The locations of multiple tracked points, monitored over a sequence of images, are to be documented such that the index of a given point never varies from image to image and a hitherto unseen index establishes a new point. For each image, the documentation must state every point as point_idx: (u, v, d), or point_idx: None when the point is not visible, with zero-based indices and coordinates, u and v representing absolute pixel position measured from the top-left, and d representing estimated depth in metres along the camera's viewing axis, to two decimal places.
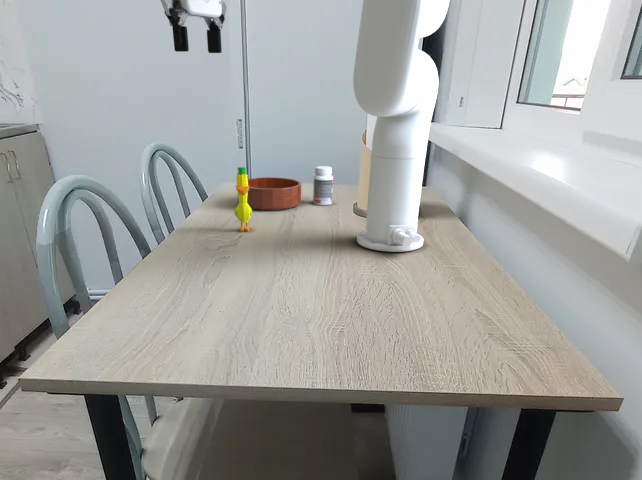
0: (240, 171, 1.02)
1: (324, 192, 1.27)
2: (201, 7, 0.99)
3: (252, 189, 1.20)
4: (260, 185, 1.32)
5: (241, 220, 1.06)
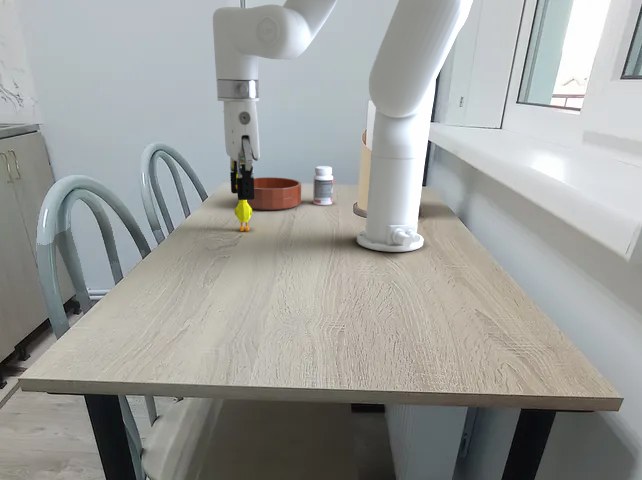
0: None
1: (324, 192, 1.27)
2: None
3: None
4: (260, 185, 1.32)
5: (241, 219, 1.06)
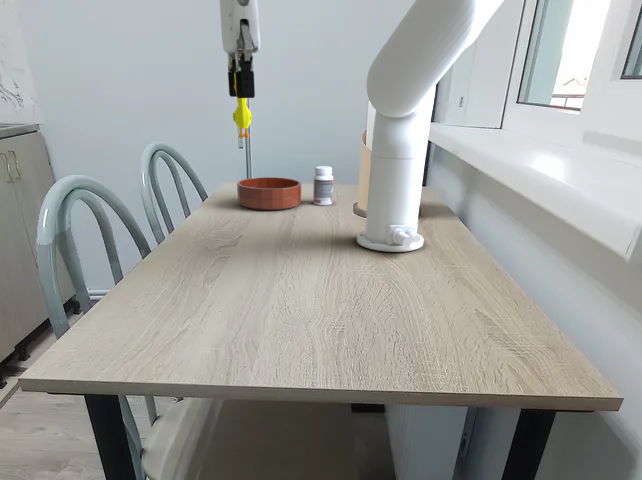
0: None
1: (324, 192, 1.27)
2: None
3: (252, 189, 1.20)
4: (260, 185, 1.32)
5: (240, 125, 0.99)
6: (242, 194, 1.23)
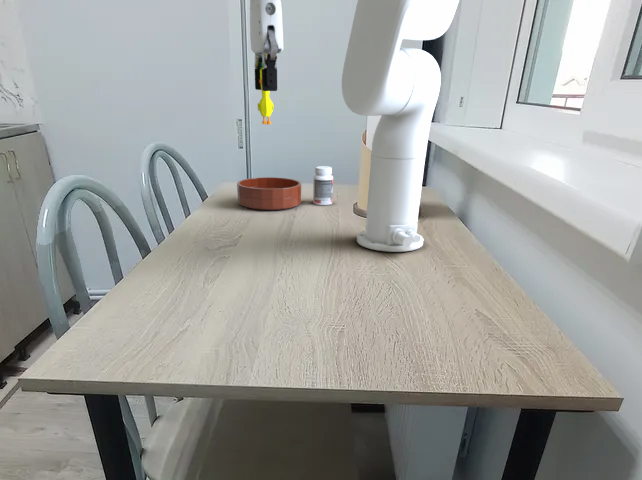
0: None
1: (324, 192, 1.27)
2: None
3: (252, 189, 1.20)
4: (260, 185, 1.32)
5: (264, 113, 1.17)
6: (242, 194, 1.23)
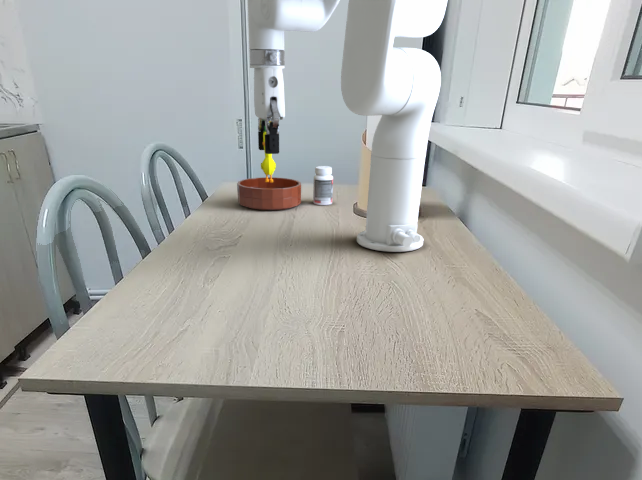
0: None
1: (324, 192, 1.27)
2: None
3: (252, 189, 1.20)
4: (260, 185, 1.32)
5: (266, 172, 1.25)
6: (242, 194, 1.23)
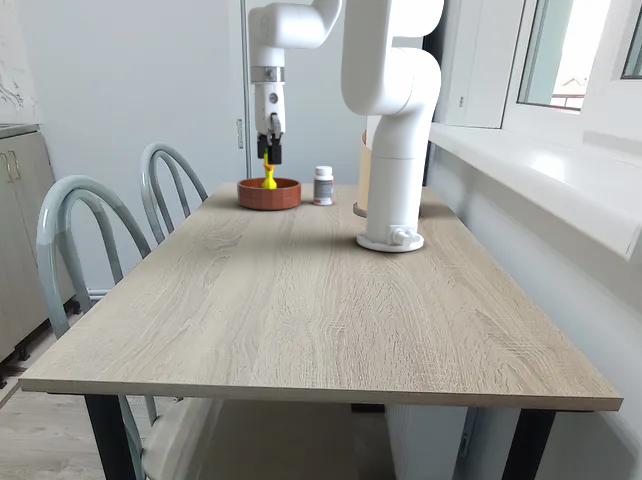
0: None
1: (324, 192, 1.27)
2: None
3: (252, 189, 1.20)
4: (260, 185, 1.32)
5: None
6: (242, 194, 1.23)
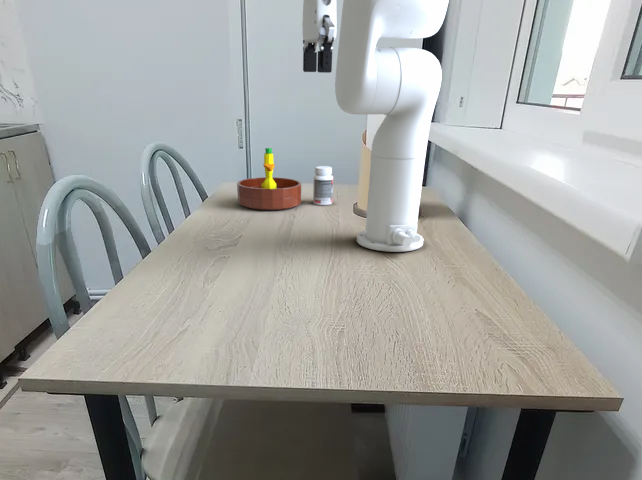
0: (267, 151, 1.23)
1: (324, 192, 1.27)
2: None
3: (252, 189, 1.20)
4: (260, 185, 1.32)
5: None
6: (242, 194, 1.23)
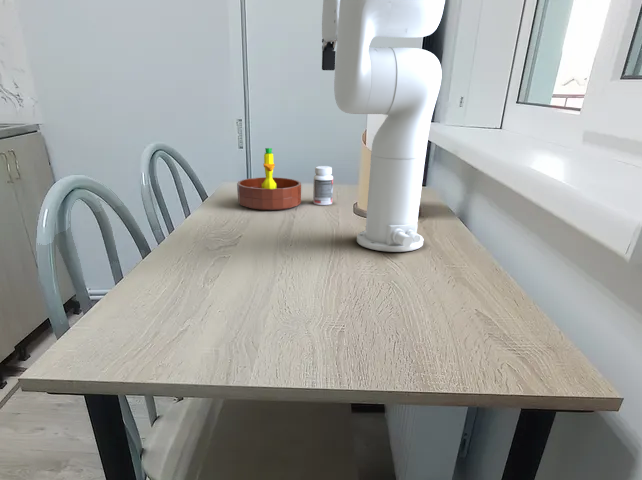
0: (267, 151, 1.23)
1: (324, 192, 1.27)
2: None
3: (252, 189, 1.20)
4: (260, 185, 1.32)
5: None
6: (242, 194, 1.23)
